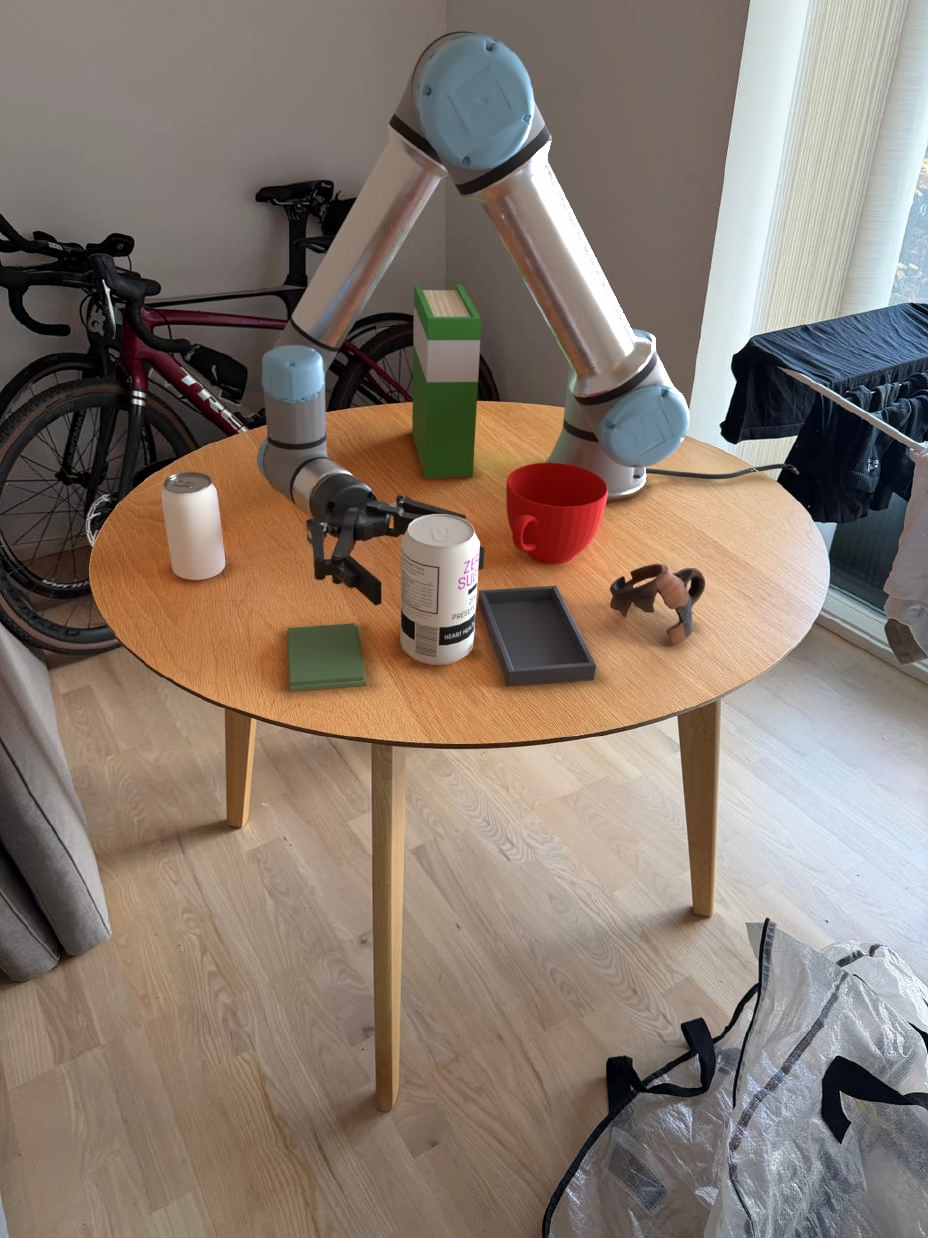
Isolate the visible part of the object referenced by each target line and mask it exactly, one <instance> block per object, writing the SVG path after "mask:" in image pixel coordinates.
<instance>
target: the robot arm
mask: <svg viewBox="0 0 928 1238" xmlns="http://www.w3.org/2000/svg"><path fill="white" fill-rule="evenodd" d="M406 84H407V85H406V87H405V88H404V91H403V94H402V96H401V98H400V100H399V103H398V105H397V106H396V108H395V111H394V112H393V115H392V117H391V118H390V120H389V122H388V124H387V133H388V138H389V139H388V142H387V144H386V145H385V147H384V149H383V151H382V153H381V154H380V156H379V158H378V160H377V161H376V163H375V165H374V167H373V169H372V170H371V173H370V174H369V176H368V178H367V180H366V181H365V183H364V185H363V187H362V188H361V191H360V192H359V194H358V196H357V198H356V199H355V201H354V203H353V204H352V206H351V208H350V210H349V212H348V214H347V215H346V217H345V219H344V221H343V222H342V224H341V226H340V228H339V229H338V231H337V233H336V235H335V237H334V238H333V241H332V242H331V244H330V246H329V248H328V249H327V251H326V253H325V254H324V256H323V258H322V260H321V262H320V263H319V266H318V268H317V269H316V271H315V272H314V274H313V277H312V278H311V280H310V282H309V283H308V285H307V287H306V289H305V291H304V292H303V294H302V296H301V298H300V300H299V302H298V304H296V307H295V309H294V311H293V312H292V314H291V316H290V319H289V320H288V322H287V323H286V325H285V327H284V329H283V330H282V331H281V332H279V333H278V334H277V336H276V337H275V339H274V341H273V342H272V345H271V347H270V350H268V351H267V352H265V353H264V354H263V356H262V359H261V371H262V372H261V387H262V390H263V399H264V400H263V401H264V411H265V412H264V413H265V420H266V437H265V439H264V440H263V441H262V442H261V445H260V447H259V450H258V453H257V455H256V465H257V468H258V471H259V472H260V474H261V476H262V477H263V478H264V479H265V480H266V481H267V482H268V484H269V485H270V486H271V488H273V490H275V491H276V492H278V493H279V494H281V495H282V496H283V497H285V498H286V499H287V500H288V501H290V502H291V503H292V504H293V505H295V506H296V507H297V508H298V509H299V510H300V511H302V512H303V513H304V514H305V515H306V516H307V517H309V518H308V519H306V521H305V528H306V529H305V531H306V540H307V542H308V544H310V545H311V547H312V556H313V558H312V559H313V574H314V580H316V581H324V580H325V579H326V578H327V577H328V576H331V583H332V584H334V585H341V584H343V585H344V586H346V587H347V588H349V589H354V588H355V589H356V590H357V591H358V592H360V593H361V595H362V596H364V597H365V598H366V599H367V600H369V601H370V603H372V604H373V606H376V607H377V606H379V605H382V600H383V599H382V581H380V579H379V578H377V577H376V576H375V575H374V574H372V573H371V572H370V571H369V570H368V569H367V568H366V567H364V566H363V565H362V564H361V563H359V561H357V560H356V559H355V558H354V557H353V556H351V554H352V551H354V550H355V547H356V544H357V542H361V541H362V542H368V541H370V540H371V539H374V538H381V537H384V536H385V537H391V538H399V537H400V536H401V535H402V536H404V534H405V532H406V531H407V529H408V526H409V524H410V523H411V522H412V521H413V520H414V519H417V518H419V517H422V516H425V515H431V514H447V515H453V516H457V517H460V518H463V519H465V520H467V516H466V514H463V513H459V512H456V511H452V510H449V509H445V508H442V507H438V506H435V505H431V504H428V503H425V502H421V501H417V500H414V499H413V498H411V497H409V496H407V495H405V494H397V495H396V497H395V498H396V501H395V502H392V503H387V502H385V501H381V500H379V499H378V498H377V496H376V495H375V493H374V492H373V490H372V489H371V488H370V487H369V486H368V485H367V484H365V483H364V482H363V481H361V480H360V479H359V478H357V477H356V476H354V475H353V474H352V473H351V472H349V471H348V470H347V469H346V468H344V467H343V466H341V465H340V464H338V463H337V462H336V461H334V460H333V459H332V458H330V457H329V456H328V446H327V427H326V426H327V424H326V423H327V421H326V419H327V418H326V373H327V372H328V370H329V369H330V366H331V365H332V363H333V361H334V360H335V358H336V356H337V354H338V352H339V350H340V349H341V347H342V345H343V344H344V342H345V340H346V338H347V337H348V335H349V333H350V332H351V330H352V329H353V327H354V325H355V323H356V321H357V320H358V319H359V317H360V315H361V313H362V312H363V310H364V308H365V307H366V305H367V303H368V301H369V300H370V298H371V297H372V295H373V294H374V291H375V290H376V288H377V286H378V285H379V284H380V282H381V280H382V278H383V277H384V275H385V273H386V271H387V270H388V268H389V267H390V265H391V263H392V262H393V260H394V258H395V256H396V255H397V253H398V252H399V250H400V248H401V247H402V245H403V243H404V241H405V240H406V239H407V237H408V235H409V233H410V232H411V230H412V228H413V226H414V224H415V223H416V222H417V220H418V218H419V216H420V215H421V213H422V211H423V210H424V208H425V207H426V205H427V203H428V201H429V200H430V199H431V196H432V195H433V193H434V191H435V190H436V188H437V186H438V184H439V183H440V181H441V179H443V178H445V177H450V179H451V181H452V183H453V185H454V186H455V188H456V189H457V192H458V193H459V195H460V197H461V198H464V199H467V200H472V201H474V202H475V201H476V202H478V203H479V204H480V205H481V206H482V208H483V210H484V212H485V213H486V216H487V217H488V219H489V221H490V223H491V224H492V226H493V229H494V230H495V232H496V234H497V235H498V238H499V239H500V241H501V243H502V245H503V246H504V248H505V250H506V252H507V254H508V255H509V257H510V259H511V261H512V263H513V264H514V267H515V268H516V270H517V272H518V273H519V275H520V277H521V279H522V280H523V283H524V284H525V286H526V288H527V289H528V291H529V294H530V295H531V297H532V299H533V301H534V302H535V304H536V306H537V308H538V310H539V312H540V313H541V315H542V317H543V318H544V320H545V322H546V325H547V326H548V328H549V330H550V331H551V333H552V335H553V337H554V339H555V340H556V342H557V344H558V346H559V347H560V350H561V351H562V353H563V355H564V357H565V359H566V360H567V362H568V364H569V365H568V375H567V383H566V392H565V401H564V402H565V403H564V410H563V412H564V413H563V421H562V427H561V431H560V434H559V435H558V438H557V440H556V442H555V444H554V447H553V448H552V451H551V452H550V455H549V457H548V458H547V457H545V463H562V464H568V465H573V466H578V467H581V468H584V469H587V470H589V471H591V472H593V473H595V474H597V475H598V476H600V477H601V478H602V479H603V480H604V481H605V483H606V484H607V488H608V495H607V501H606V503H615V502H616V503H617V502H622V501H627V500H630V499H633V498H635V497H637V496H639V495H640V494H641V493H643V491H644V488H645V486H646V479H647V474H650V475H661V476H670V477H681V478H690V479H691V478H693V479H703V480H727V479H734V478H738V477H742V476H744V475H748V474H751V473H757V472H756V470H758V471H759V472H766V471H772V470H778V469H779V470H781V469H782V470H787V471H789V472H791V473H792V474H793V475H800V473H799V471H798V470H797V468H796V467H794V468H787V467H788V465H789V464H788V465H786V464H787V463H772V464H765V465H760V466H752V467H753V468H755V469H756V470H754V469H753V468H752V467H747V468H744V469H740V470H737V471H734V472H729V473H701V472H693V471H692V472H690V471H681V470H670V469H661V468H648V467H652V466H655V465H657V464H659V463H661V462H663V461H664V460H666V459H667V458H669V457H670V456H672V454H673V453H675V451H677V449H678V448H679V447H680V446H681V444H682V443H683V441H684V439H685V436H686V435H687V433H688V430H689V426H690V411H689V408H688V405H687V401H686V399H685V397H684V395H683V394H682V393H681V392H680V391H679V390H678V389H677V388H676V387H675V386H674V384H673V383H672V380H671V379H670V376H669V375H668V373H667V370H666V369H665V367H664V365H663V362H662V361H661V359H660V357H659V355H658V353H657V348H656V341H657V340H656V337H655V335H653V334H652V333H650V332H648V331H645V330H641V329H636V328H631V327H630V324H629V322H628V320H627V318H626V316H625V314H624V313H623V310H622V308H621V307H620V304H619V303H618V300H617V298H616V296H615V294H614V292H613V290H612V288H611V286H610V284H609V282H608V280H607V277H606V276H605V274H604V272H603V270H602V268H601V266H600V264H599V262H598V259H597V258H596V256H595V254H594V252H593V250H592V248H591V245H590V244H589V242H588V240H587V237H586V236H585V234H584V231H583V229H582V228H581V226H580V224H579V222H578V219H577V218H576V215H575V213H574V211H573V209H572V208H571V205H570V203H569V201H568V199H567V198H566V195H565V193H564V191H563V189H562V187H561V185H560V183H559V181H558V179H557V176H556V175H555V173H554V171H553V169H552V167H551V165H550V163H549V161H548V153H549V150H550V146H551V142H552V139H553V138H552V134H551V133H550V130H549V129H548V127H547V124H546V123H545V120H544V118H543V115H542V113H541V112H540V110H539V108H538V105H537V104H536V102H535V97H534V89H533V86H532V81H531V78H530V75H529V73H528V71H527V69H526V67H525V64H523V62H522V61H521V59H520V58H519V56H518V55H517V54H516V53H515V51H513V50H512V49H511V48H510V47H508V46H507V44H505V43H503V42H502V41H500V40H499V39H497V38H494V37H492V36H489V35H486V34H483V33H475V32H472V31H466V30H457V31H451V32H447V33H445V34H442V35H441V36H438V37H436V38H435V39H434V40H432V41H431V42H429V44H428V45H427V46H426V47H425V48H424V49H423V51H422V52H421V54H420V55H419V56H418V58H417V60H416V62H415V65H414V66H413V69H412V71H411V74H410V77H409V79H408V82H407V83H406ZM790 466H791V465H790ZM790 466H789V467H790ZM784 467H785V468H784ZM751 470H753V471H751ZM392 518H393V527H390V525H391V519H392ZM328 534H329V536H331V537H333V538H335V539H337V540H336V543H335V546H334V548H333V550H332V554H331V556H330V558H326V557H325V546H324V543H325V538H327V536H328ZM485 551H486V548H485V547H484V546H482V545H481V544H480V549H479V565H478V572H480V571H482V570H484V568H485V567H484V566H485V565H484V563H485V553H486V552H485Z"/></svg>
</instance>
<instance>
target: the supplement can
mask: <svg viewBox="0 0 928 1238" xmlns="http://www.w3.org/2000/svg"><path fill="white" fill-rule="evenodd" d="M480 545H481V541H480V539H479V538H478V536H477V534H476V529H475V528H474V525H473V524H472V523H471V522H470V521H468V520H467V519H466V520H465V519H463V518H460V517H457V516H453V515H447V514H431V515H425V516H422V517H419V518H417V519H414V520H413V521H412V522H411V523H410V524H409V526H408V529H407V531H406V532H405V534H404V535H402V539H401V542H400V634H399V635H400V639H399V640H400V641H399V642H400V645H401V647H402V648H401V649H402V650H403V651H404V652H405V653H406V654H407V655H408V656H409V657H411V658H412V659H413V660H415V661H418V662H419V663H422V664H425V665H430V666H445V665H451V664H455V663H457V662H458V661H460V660H462V659H464V658H465V657H467V656H468V655H469V654H470V653H471V651H472V650H473V648H474V642H475V625H476V611H477V598H478V597H477V595H478V581H479V571H478V565H479V549H480Z"/></svg>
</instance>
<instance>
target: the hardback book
mask: <svg viewBox="0 0 928 1238" xmlns="http://www.w3.org/2000/svg"><path fill="white" fill-rule="evenodd" d="M481 335H482V317H481V315H480V313H479V312H478V310H477V308H476V306H475V305H474V303H473V301H472V299H471V298H470V296H469V294H468V292H467V291H466V289H465V288H464V286H463V284H455V289H423V288H422V286H421V284H413V337H412V338H413V339H412V340H413V344H412V345H413V346H412V347H413V351H412V412H411V413H412V415H411V417H412V418H411V419H412V420H411V421H412V422H411V424H412V425H411V432H412V436H413V440H414V445H415V448H416V451H417V455H418V459H419V462H420V465H421V470H422V474H423V477H424V479H437V478H439V479H440V478H441V479H442V478H473V477H474V462H475V446H476V445H475V444H476V426H477V425H476V424H477V408H478V407H477V405H478V391H479V390H478V388H479V387H478V386H479V372H480V371H479V369H480V351H481Z"/></svg>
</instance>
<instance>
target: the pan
mask: <svg viewBox="0 0 928 1238" xmlns="http://www.w3.org/2000/svg"><path fill="white" fill-rule="evenodd" d="M477 605H478V609H479V611H480V614H481V617H482V619H483V623H484V625H485V628H486V630H487V633H488V635H489V638H490V642H491V644H492V647H493V650H494V653H495V655H496V658H497V661H498V664H499V667H500V669H501V672H502V675H503V678H504V680H505V683H506V686H507V687H508V688H509V687H519V686H521V687H522V686H533V685H534V686H535V685H545V684H557V683H558V684H559V683H570V682H571V683H572V682H582V681H594V680H595V677H596V670H597V663H596V662H595V659H594V658H593V656H592V655H593V654H592V653H591V651H590V650H589V647H588V645H587V644H586V641H585V639H584V638H583V636H582V634H581V631H580V629H579V628H578V626H577V624H576V622H575V619H574V617H573V616H572V614H571V612H570V610H569V608H568V606H567V603H566V601H565V600H564V598H563V595H562V594H561V592H560V590H559V587H558V586H557V585H544V586H542V585H541V586H528V587H526V586H525V587H511V588H497V589H495V588H494V589H480V590H478V597H477Z"/></svg>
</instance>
